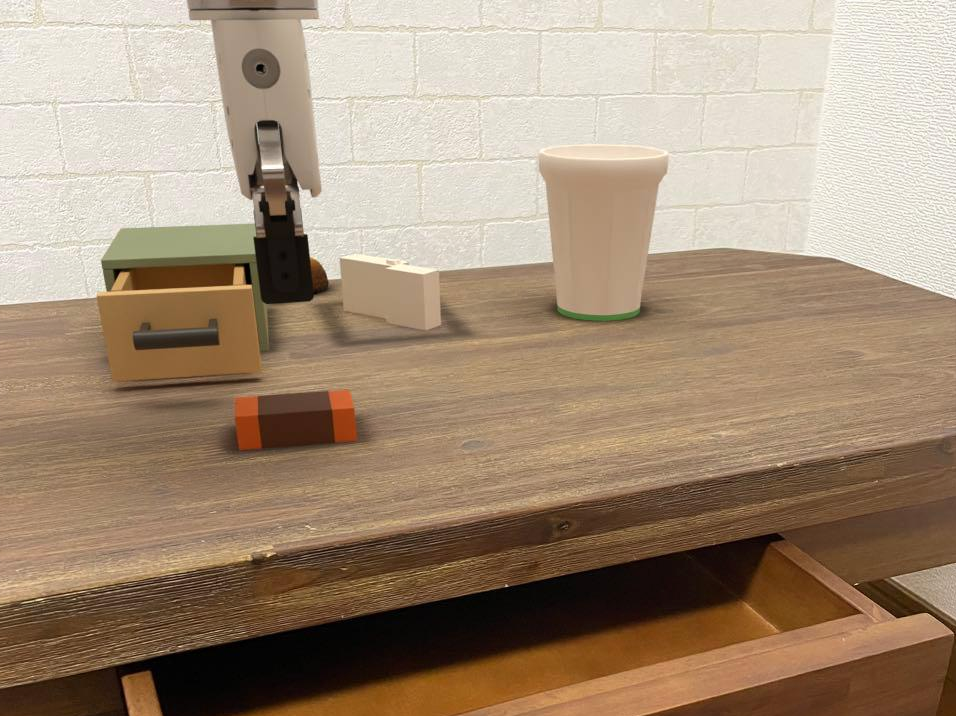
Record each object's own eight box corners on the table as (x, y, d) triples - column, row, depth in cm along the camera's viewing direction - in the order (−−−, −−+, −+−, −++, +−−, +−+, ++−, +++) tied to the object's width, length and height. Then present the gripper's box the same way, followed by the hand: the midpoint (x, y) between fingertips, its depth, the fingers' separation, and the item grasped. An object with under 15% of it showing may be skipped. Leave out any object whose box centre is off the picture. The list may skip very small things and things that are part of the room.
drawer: (262, 390, 80) (251, 302, 77) (104, 401, 77) (87, 311, 74) (260, 328, 96) (251, 253, 93) (130, 335, 93) (116, 259, 90)
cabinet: (269, 351, 92) (257, 253, 88) (118, 361, 89) (100, 259, 86) (267, 310, 105) (257, 223, 101) (135, 318, 102) (120, 228, 98)
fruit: (239, 289, 113) (235, 255, 111) (310, 279, 117) (307, 246, 115) (269, 305, 107) (265, 269, 105) (343, 294, 111) (340, 259, 109)
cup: (684, 317, 103) (696, 154, 97) (577, 333, 98) (581, 162, 91) (616, 291, 113) (622, 141, 106) (515, 304, 108) (515, 147, 101)
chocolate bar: (239, 451, 71) (234, 416, 70) (239, 430, 75) (235, 397, 74) (357, 442, 73) (354, 407, 72) (352, 422, 76) (349, 389, 75)
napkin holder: (321, 306, 107) (316, 249, 104) (429, 298, 110) (427, 243, 107) (344, 345, 94) (339, 282, 91) (466, 335, 97) (464, 273, 95)
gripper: (325, -11, 55) (353, 312, 62) (309, -5, 70) (334, 255, 77) (176, -10, 53) (224, 321, 61) (193, -5, 68) (230, 260, 76)
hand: (286, 284), depth 69 cm, fingers open, 9 cm apart
